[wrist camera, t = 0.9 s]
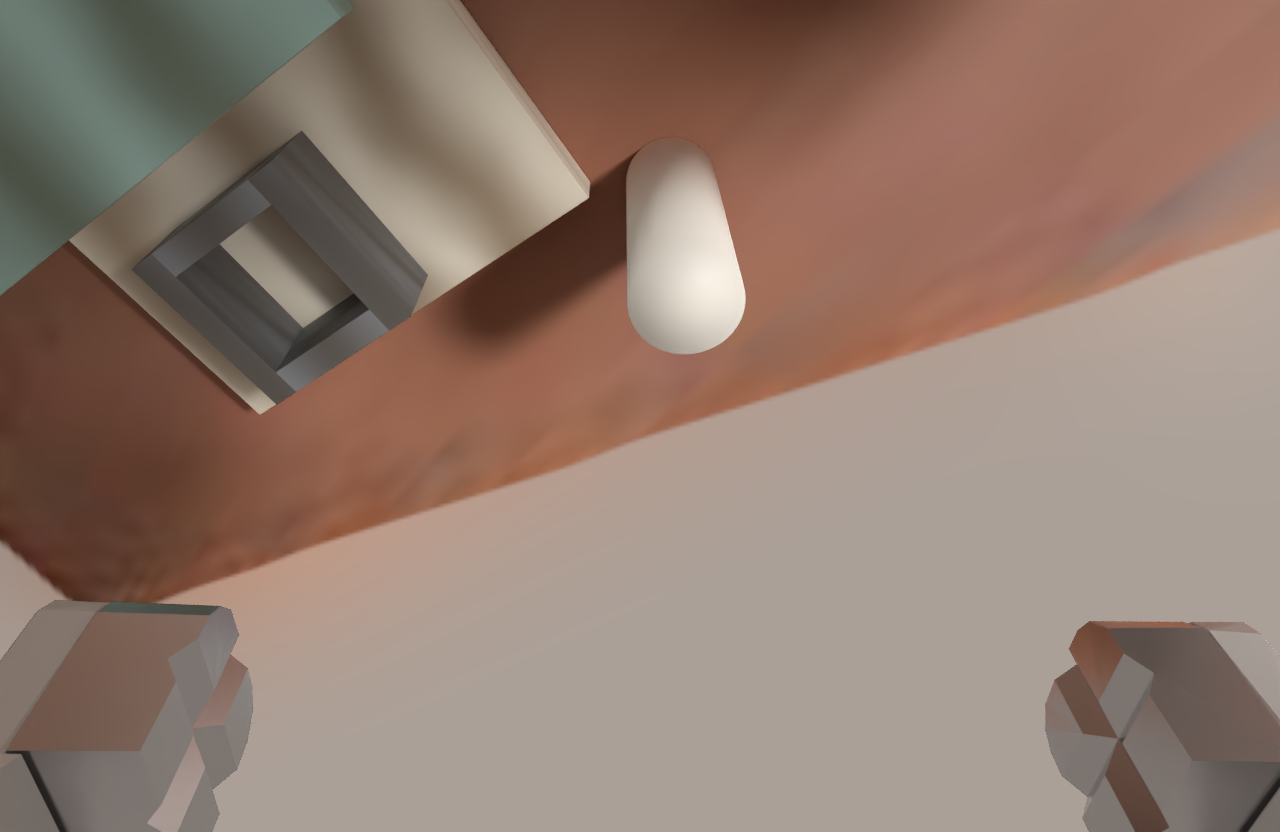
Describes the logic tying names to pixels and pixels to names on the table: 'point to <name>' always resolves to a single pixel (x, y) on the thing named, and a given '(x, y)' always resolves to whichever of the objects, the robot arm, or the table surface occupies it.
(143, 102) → the canopy socket
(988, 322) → the table surface
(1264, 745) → the robot arm
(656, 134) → the table surface
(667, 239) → the peg
